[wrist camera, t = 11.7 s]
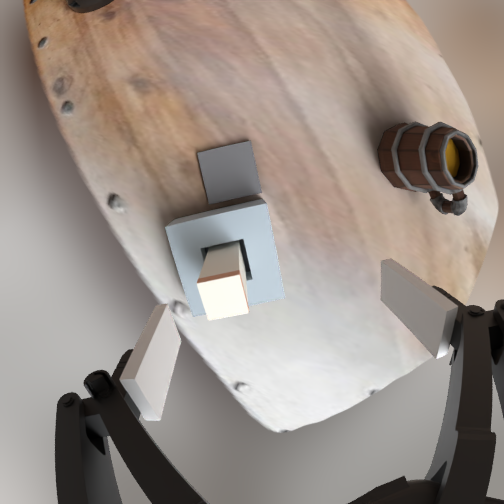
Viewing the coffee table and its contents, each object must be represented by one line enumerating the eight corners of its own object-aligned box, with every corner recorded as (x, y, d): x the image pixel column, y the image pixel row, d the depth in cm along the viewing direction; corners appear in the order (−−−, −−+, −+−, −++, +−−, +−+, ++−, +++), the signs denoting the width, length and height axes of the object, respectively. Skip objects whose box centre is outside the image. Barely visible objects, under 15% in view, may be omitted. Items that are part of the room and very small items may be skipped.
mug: (366, 140, 39) (419, 132, 25) (413, 116, 38) (469, 106, 24) (401, 221, 44) (455, 244, 29) (443, 192, 42) (499, 205, 28)
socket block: (174, 219, 42) (164, 227, 36) (262, 198, 41) (266, 203, 36) (198, 299, 46) (193, 316, 40) (279, 282, 46) (285, 298, 40)
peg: (209, 245, 41) (196, 283, 27) (238, 239, 40) (239, 274, 27) (216, 273, 42) (208, 320, 28) (245, 267, 42) (249, 312, 28)
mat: (198, 153, 39) (197, 152, 38) (250, 141, 39) (250, 140, 38) (209, 203, 41) (209, 204, 40) (261, 192, 41) (261, 192, 40)
